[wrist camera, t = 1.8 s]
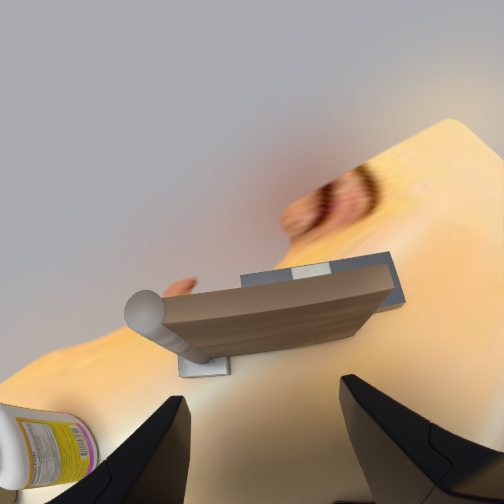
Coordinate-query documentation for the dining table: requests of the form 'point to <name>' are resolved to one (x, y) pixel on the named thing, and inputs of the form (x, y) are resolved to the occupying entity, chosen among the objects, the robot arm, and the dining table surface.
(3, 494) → the squeeze bottle
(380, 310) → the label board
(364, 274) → the walnut gate
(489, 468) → the robot arm
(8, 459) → the supplement bottle
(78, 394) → the dining table surface
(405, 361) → the dining table surface
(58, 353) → the dining table surface
